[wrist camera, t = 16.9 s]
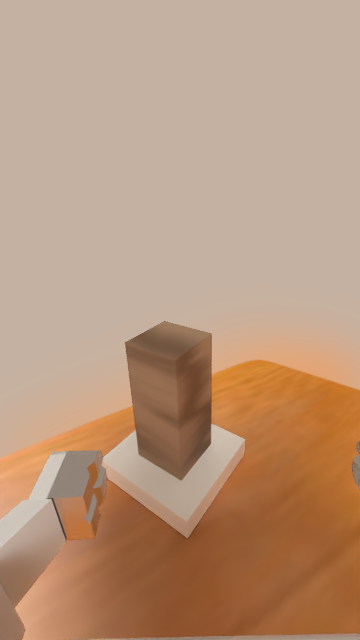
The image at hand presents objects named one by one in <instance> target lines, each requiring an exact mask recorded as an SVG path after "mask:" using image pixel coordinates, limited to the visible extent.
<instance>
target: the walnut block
mask: <svg viewBox="0 0 360 640" xmlns="http://www.w3.org/2000/svg"><path fill="white" fill-rule="evenodd" d="M211 339H212V335H211V333H207V332H203V331H200V330H196V329H192V328H188V327H184V326H180V325H177V324H173V323H169V322H165V321H164V322H162V323H160V324H158V325H157V326H155V327H153V328H151V329H150V330H147V331H146V332H144V333H142V334H140V335H138V336H136V337H135V338H133V339H131V340H129V341H127V342H125V345H126V354H127V362H128V370H129V378H130V387H131V395H132V403H133V412H134V420H135V428H136V436H137V445H138V453H139V455H140V456H142V457H143V458H145V459H146V460H148V461H150V462H151V463H153V464H155V465H156V466H158V467H159V468H161V469H163V470H164V471H166V472H168V473H169V474H171V475H172V476H174V477H176V478H177V479H179V480H181V481H182V479H183V478H184V477H185V476H186V474H187V473H188V472H189V471H190V469H191V468H192V467H193V466H194V465H195V463H196V462H197V461H198V460H199V458H200V457H201V456H202V455H203V453H204V452H205V451H206V450H207V448H208V447H209V446H210V445H211V357H212V354H211V353H212V351H211V350H212V348H211V347H212V342H211V341H212V340H211Z"/></svg>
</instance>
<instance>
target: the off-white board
mask: <svg viewBox="0 0 360 640" xmlns="http://www.w3.org/2000/svg"><path fill="white" fill-rule="evenodd" d="M244 453H245V439H244V438H242V437H239V436H237V435H235V434H233V433H231V432H229V431H227V430H224V429H222V428H220V427H218V426H216V425H214V424H211V445H210V446H209V447H208V448H207V450H206V451H205V452H204V453H203V455H202V456H201V457H200V458H199V460H198V461H197V462H196V463H195V465H194V466H193V467H192V468H191V469H190V471H189V472H188V473H187V474H186V476H185V477H184V478H183V479H182V481H181V480H179V479H177V478H176V477H174V476H172V475H171V474H169V473H168V472H166V471H164V470H163V469H161V468H159V467H158V466H156V465H155V464H153V463H151V462H150V461H148V460H146V459H145V458H143V457H142V456H140V455H139V453H138V445H137V436H136V430H135V431H134V432H132V433H131V434H130V435H129V436H128V437H126V438H125V439H124V440H123V441H122V442H121V443H119V444H118V445H117V446H116V447H115V448H114V449H112V450H111V451H110V452H109V453H108V454H106V455H105V456H104V457H103V461H102V466H103V467H104V468H105V469H106V474H107V478H108V479H109V480H110V481H112V482H113V483H114V484H116V485H117V486H118V487H120V488H121V489H122V490H124V491H125V492H126V493H128V494H129V495H130V496H132V497H133V498H134V499H136V500H137V501H138V502H140V503H141V504H142V505H144V506H145V507H146V508H148V509H149V510H150V511H152V512H153V513H154V514H156V515H157V516H158V517H160V518H161V519H162V520H164V521H165V522H166V523H168V524H169V525H170V526H172V527H173V528H174V529H175V530H177V531H178V532H179V533H181V534H182V535H183V536H185V537H186V538H187V539H188V537H189V536H190V534H191V533H192V531H193V530H194V528H195V527H196V525H197V524H198V522H199V521H200V519H201V518H202V517H203V515H204V514H205V512H206V511H207V509H208V508H209V506H210V505H211V503H212V502H213V500H214V499H215V497H216V496H217V494H218V493H219V491H220V490H221V488H222V487H223V485H224V484H225V482H226V481H227V479H228V478H229V476H230V475H231V473H232V472H233V470H234V469H235V467H236V466H237V465H238V463H239V462H240V460H241V459H242V457H243V456H244Z"/></svg>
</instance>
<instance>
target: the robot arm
mask: <svg viewBox="0 0 360 640" xmlns="http://www.w3.org/2000/svg"><path fill="white" fill-rule="evenodd" d="M356 450H357V451H358V453H359V455H358V456H357V457H355V458H354V459H353V464H352V471H353V477H354V479H355V482H356V484H357V486H358V488H359V490H360V441H359V442H358V443H357V447H356ZM102 461H103V456H102V453H101V451H60V452H53V453H52V454H51V455H50V456H49V458H48V460H47V462H46V464H45V466H44V468H43V470H42V472H41V474H40V476H39V478H38V480H37V482H36V484H35V486H34V488H33V490H32V492H31V495H30V497H29V499H28V500H23V501H21V502H20V503H19V504H18V505H17V506H16V507H14V508H13V509H12V510H11V511H10V512H9V513H7V514H6V515H5V516H4V517H3V518H2V519H0V640H22V639H23V636H24V633H25V627H24V624H23V622H22V621H21V619H20V617H19V615H18V614H17V612H16V610H15V607H16V606H17V604H18V603H19V602H20V600H21V599H22V598H23V597H24V595H25V594H26V593H27V592H28V590H29V589H30V588H31V586H32V585H33V584H34V583H35V581H36V580H37V579H38V577H39V576H40V575H41V574H42V572H43V571H44V570H45V569H46V567H47V566H48V565H49V563H50V562H51V561H52V560H53V558H54V557H55V556H56V555H57V553H58V552H59V551H60V549H61V548H62V547H63V546H64V544H65V543H66V540H73V539H89V538H95V536H96V532H97V528H98V524H99V520H100V516H101V515H100V511H99V506H100V505H101V504H102V503H103V501H104V499H105V495H106V488H107V474H106V469H105V468H104V467H103V466H102ZM69 640H360V633H340V634H294V635H248V636H202V637H158V638H113V639H69Z"/></svg>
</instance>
